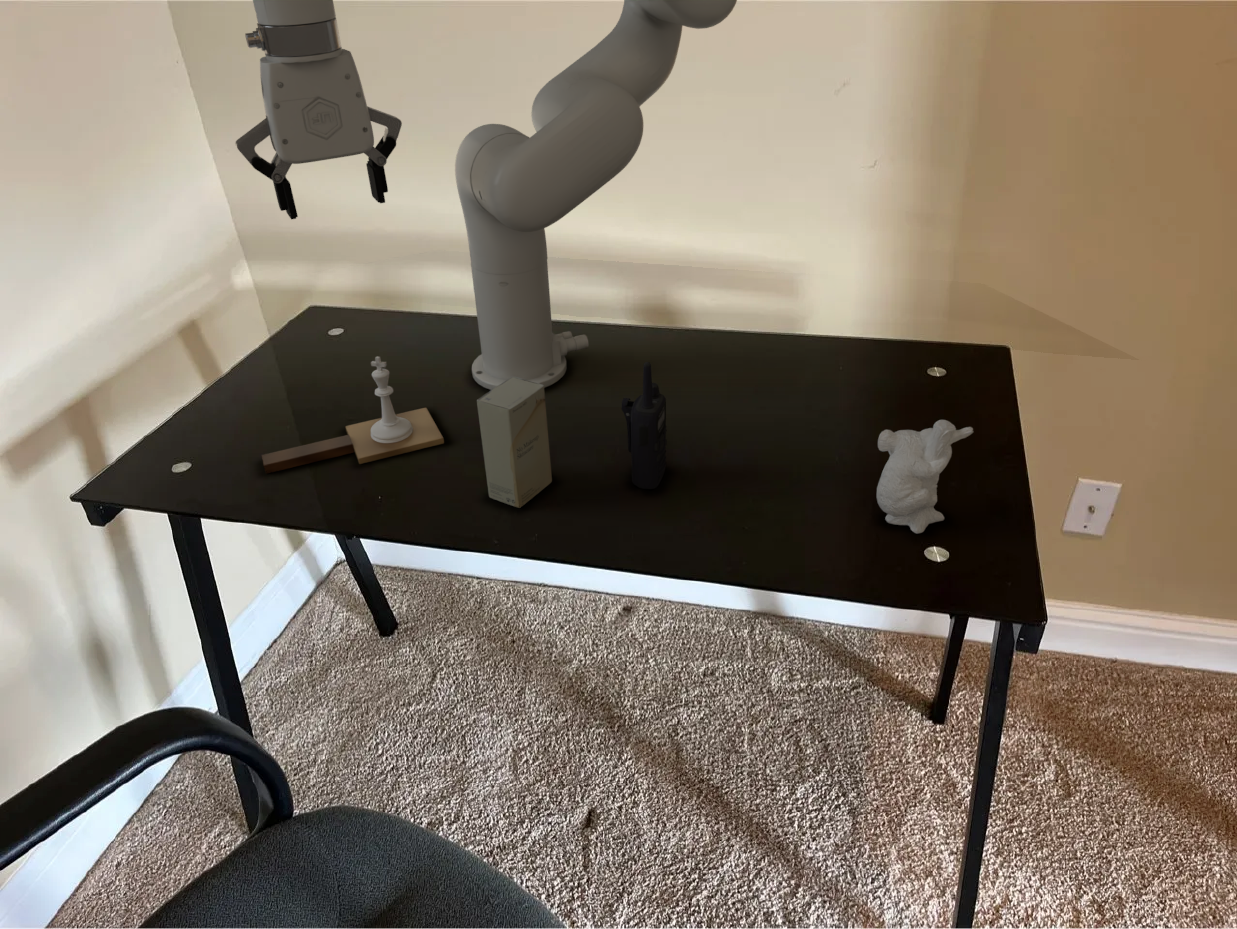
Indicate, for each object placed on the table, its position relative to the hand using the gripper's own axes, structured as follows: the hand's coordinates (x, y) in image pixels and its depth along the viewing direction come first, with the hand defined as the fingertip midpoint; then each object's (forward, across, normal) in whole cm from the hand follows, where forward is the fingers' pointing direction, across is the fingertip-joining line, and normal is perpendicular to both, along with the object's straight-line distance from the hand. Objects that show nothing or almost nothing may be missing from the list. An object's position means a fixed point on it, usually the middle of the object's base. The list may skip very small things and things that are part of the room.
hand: (336, 207), depth 102 cm
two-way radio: (+26, +22, -30) cm, 46 cm away
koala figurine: (+26, +42, -50) cm, 71 cm away
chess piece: (+25, 0, -8) cm, 26 cm away
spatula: (+26, -5, -8) cm, 27 cm away
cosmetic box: (+26, +9, -26) cm, 38 cm away
